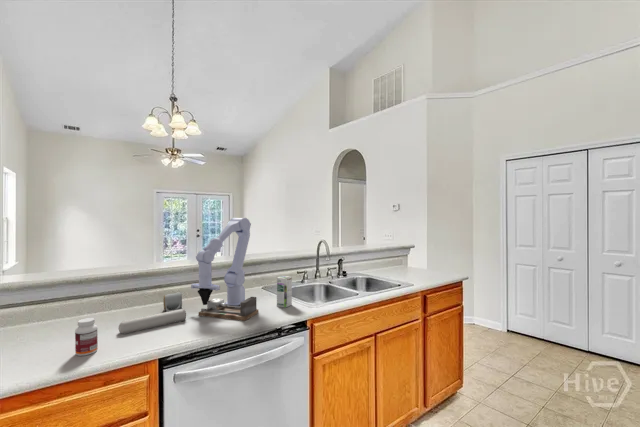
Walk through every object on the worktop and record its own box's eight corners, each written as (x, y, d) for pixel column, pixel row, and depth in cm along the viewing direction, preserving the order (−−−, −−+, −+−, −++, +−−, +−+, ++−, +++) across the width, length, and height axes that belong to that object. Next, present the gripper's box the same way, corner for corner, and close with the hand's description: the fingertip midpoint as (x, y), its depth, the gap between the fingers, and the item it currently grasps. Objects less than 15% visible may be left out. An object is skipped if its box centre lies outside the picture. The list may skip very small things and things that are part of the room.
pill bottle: (77, 350, 114) (76, 318, 113) (98, 347, 116) (98, 315, 116) (73, 357, 108) (73, 324, 108) (96, 354, 111) (96, 321, 111)
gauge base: (198, 315, 151) (198, 299, 151) (214, 308, 162) (214, 292, 162) (245, 320, 144) (245, 303, 144) (258, 312, 155) (258, 296, 155)
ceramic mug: (164, 307, 163) (163, 292, 163) (182, 305, 166) (182, 290, 166) (163, 314, 153) (162, 297, 153) (182, 312, 157) (182, 296, 156)
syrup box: (276, 306, 165) (276, 277, 165) (282, 303, 170) (282, 275, 170) (285, 307, 163) (285, 278, 162) (292, 304, 168) (292, 276, 168)
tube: (120, 326, 126) (186, 312, 143) (117, 319, 130) (182, 306, 147) (119, 338, 128) (185, 323, 144) (116, 330, 131) (181, 316, 148)
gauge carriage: (203, 312, 150) (203, 303, 150) (215, 306, 159) (215, 298, 159) (218, 313, 148) (218, 304, 148) (229, 308, 156) (229, 299, 156)
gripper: (186, 276, 155) (186, 305, 155) (213, 278, 151) (213, 308, 151) (196, 273, 162) (196, 301, 162) (222, 275, 157) (222, 303, 158)
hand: (205, 304), depth 157 cm, fingers closed
